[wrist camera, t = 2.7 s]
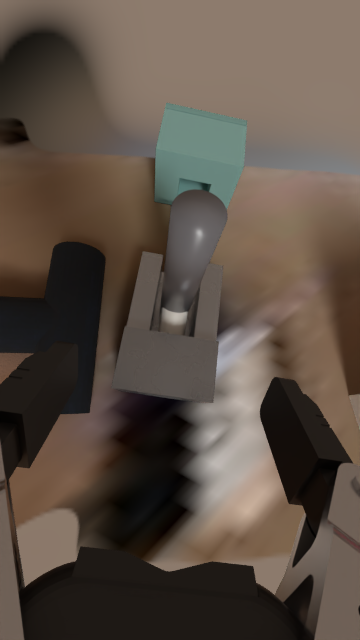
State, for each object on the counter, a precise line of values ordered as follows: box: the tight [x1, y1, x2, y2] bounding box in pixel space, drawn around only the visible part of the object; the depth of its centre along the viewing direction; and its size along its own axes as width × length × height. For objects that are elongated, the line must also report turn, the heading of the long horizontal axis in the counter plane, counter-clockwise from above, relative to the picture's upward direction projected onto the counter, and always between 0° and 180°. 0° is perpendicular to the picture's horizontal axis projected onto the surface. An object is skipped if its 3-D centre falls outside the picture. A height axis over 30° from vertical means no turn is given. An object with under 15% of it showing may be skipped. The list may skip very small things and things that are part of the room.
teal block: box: [154, 103, 247, 210], centre depth 30 cm, size 9×7×7 cm
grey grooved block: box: [111, 251, 223, 403], centre depth 24 cm, size 8×13×5 cm, turn 172°
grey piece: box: [158, 189, 227, 336], centre depth 21 cm, size 3×18×14 cm, turn 172°
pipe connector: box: [0, 242, 105, 414], centre depth 23 cm, size 12×5×15 cm
